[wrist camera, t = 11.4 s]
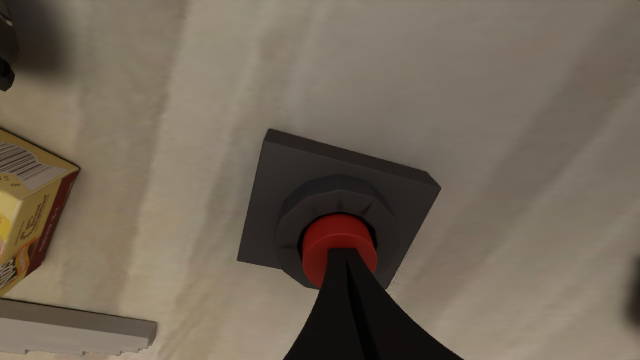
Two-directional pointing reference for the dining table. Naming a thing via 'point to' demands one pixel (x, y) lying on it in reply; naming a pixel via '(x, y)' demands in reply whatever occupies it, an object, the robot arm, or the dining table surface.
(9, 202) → the candy box
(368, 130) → the dining table surface
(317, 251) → the power button
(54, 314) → the knife
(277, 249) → the power block
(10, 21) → the orange oval dome
